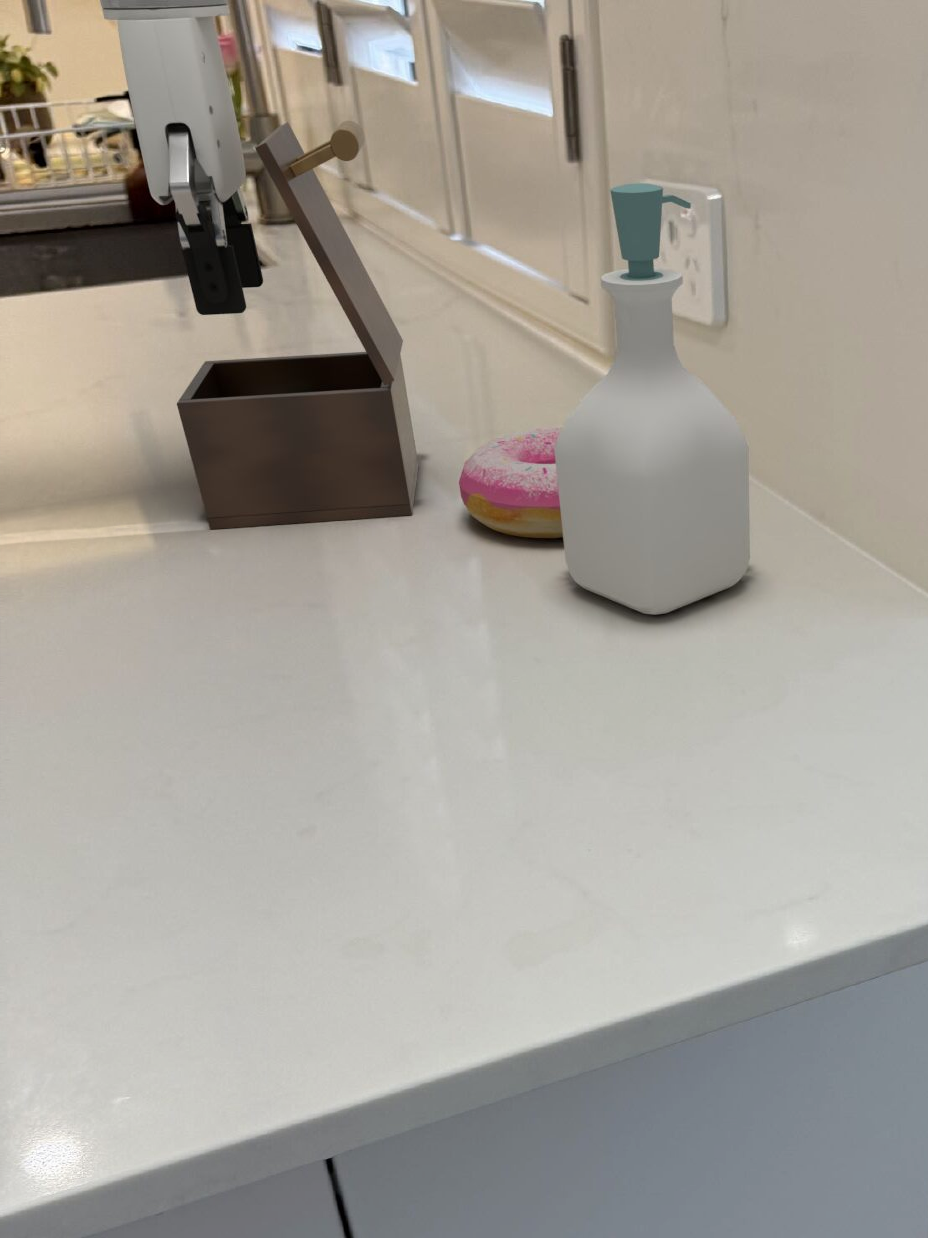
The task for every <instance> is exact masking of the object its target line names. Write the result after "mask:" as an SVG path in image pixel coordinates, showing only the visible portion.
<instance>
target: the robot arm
mask: <svg viewBox="0 0 928 1238" xmlns="http://www.w3.org/2000/svg"><path fill="white" fill-rule="evenodd" d="M99 2H100V6H101V11H102V13H103V18H104V20H109V21H117V31H118V38H119V44H120V52H121V58H122V63H123V70H124V74H125V80H126V86H127V91H128V95H129V99H130V105H131V111H132V115H133V121H134V124H135V128H136V134H137V139H138V142H139V143H138V144H139V148H140V152H141V157H142V161H143V166H144V171H145V176H146V180H147V185H148V189H149V194H150V196H151V197H152V199H153V200H154V201H155V202H156V203H158V204H159V205H160V206H166V205H169V204H170V203H171V202H172V201H174V206H175V207H174V208H175V212H174V214H175V215H174V216H175V220H176V222H177V229H178V230H177V231H178V236H179V242H180V245H181V252H182V257H183V261H184V264H185V268H186V269H185V270H186V272H187V276H188V281H189V284H190V289H191V292H192V297H193V302H194V304H195V310H196V311H197V313H198V314H199V315H201V316H210V315H211V316H213V315H233V314H235V315H236V314H243V313H244V312H245V311H246V310H247V301H246V298H245V293H244V289H249V288H260V287H261V286H262V285H263V283H264V276H263V271H262V268H261V263H260V258H259V253H258V248H257V243H256V239H255V235H254V230H253V225H252V223H251V222H249V221H250V220H249V219H250V217H249V212H248V211H249V210H248V208H247V204H246V201H245V198H244V195H243V192H242V189H241V187H242V186H243V185H244V183H245V182H246V175H247V172H246V164H245V159H244V158H245V157H244V151H243V146H242V141H241V136H240V130H239V125H238V120H237V116H236V110H235V107H234V101H233V98H232V92H231V88H230V84H229V79H228V74H227V71H226V67H225V62H224V58H223V50H222V47H221V45H220V40H219V36H218V33H217V28H216V24H215V20H214V18H215V17H220V16H223V17H225V16H230V15H231V13H230V8H229V4H228V0H99Z"/></svg>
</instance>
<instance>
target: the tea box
mask: <svg viewBox="0 0 928 1238" xmlns="http://www.w3.org/2000/svg"><path fill="white" fill-rule="evenodd" d="M405 380H406V379H405V374H404V367H403V360H402V356H401V354H400V357H399V362H398V367H397V371H396V376H395V380H394V381H393V382H391V383H389V384H387V385H384V383H383V382H382V380H381V378H380V376H379V374H378V372H377V371H376V369H375V367H374V365H373V363H372V361H371V360H370V358H369V356H368V354H367V352H366V351H356V352H354V351H353V352H340V353H339V352H337V353H321V354H305V355H287V356H286V355H285V356H274V357H273V356H272V357H271V356H270V357H254V358H253V357H252V358H237V359H235V358H234V359H222V360H221V359H220V360H219V359H218V360H205V361H204V362H203V363H202V365H201V366H200V368H199V369H198V371H197V372H196V374H195V376H194V377H193V378H192V380H191V381H190V383H189V384H188V385H187V387H186V389H185V390H184V392H183V393H182V395H181V396H180V398H179V399H178V401H177V402H176V406H177V411H178V415H179V418H180V421H181V425H182V429H183V433H184V436H185V440H186V444H187V449H188V452H189V455H190V459H191V463H192V467H193V471H194V474H195V478H196V482H197V485H198V489H199V492H200V496H201V501H202V504H203V508H204V511H205V516H206V518H207V523H208V527H209V529H210V530H219V529H235V528H247V527H249V528H251V527H261V526H263V527H264V526H276V525H277V526H278V525H290V524H304V523H318V522H319V523H320V522H334V521H335V522H336V521H347V520H362V519H363V520H364V519H374V518H375V519H376V518H388V517H389V518H390V517H392V518H393V517H402V516H406V517H407V516H412V515H413V511H414V502H415V496H416V489H417V482H418V474H419V466H420V465H419V459H418V458H419V457H418V454H417V447H416V441H415V435H414V428H413V423H412V415H411V411H410V405H409V399H408V398H409V397H408V391H407V386H406V381H405Z"/></svg>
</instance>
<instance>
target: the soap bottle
mask: <svg viewBox="0 0 928 1238" xmlns="http://www.w3.org/2000/svg"><path fill="white" fill-rule="evenodd" d="M609 191H610V197H611V202H612V208H613V215H614V220H615V226H616V231H617V239H618V244H619V249H620V255H621V259H622V260H624V261H627V268H625V269H618V270H613V271H610V272H607V273H604V274H602V275H601V276H600V285H601V288H602V289H603V291H605V292H607V293H608V294H609V295H610V296H611V298H612V299H613V304H614V319H615V333H616V345H617V346H616V350H615V354H614V358H613V361H612V363H611V365H610V368H609V369H608V372H607V374H605V375H604V376H603V377H602V378H601V379H600V380H599V381H598V382H597V383H596V384H595V385H594V386H592V387H591V389H590V390H589V391H588V392H587V394H585V396H584V397H583V398H582V400H581V401H580V402H579V403H578V405H577V406H576V407H575V408H574V410H573V411H572V413H571V414H570V415H569V416H568V417H567V419H566V420H565V421H564V423H563V425H562V426H561V427H562V429H561V431H560V434H559V436H558V438H557V442H556V448H555V461H556V471H557V480H558V490H559V500H560V510H561V520H562V530H563V537H562V540H563V549H564V558H565V563H566V566H567V570H568V572H569V574H570V576H571V577H572V579H573V580H574V582H575V583H576V584H577V585H578V586H580V587H581V588H583V589H585V590H586V591H588V592H591V593H593V594H596V595H598V596H601V597H603V598H605V599H607V600H611V601H613V602H615V603H618V604H620V605H622V606H625V607H627V608H629V609H631V610H634V611H637V612H639V613H642V614H645V615H654V616H655V615H663V614H668V613H670V612H673V611H676V610H678V609H680V608H682V607H686V606H688V605H690V604H692V603H695V602H698V601H700V600H702V599H704V598H707V597H711V596H712V595H715V594H717V593H719V592H722V591H724V590H727V589H729V588H732V587H734V586H735V585H736V584H737V583H738V582H739V581H741V579H742V578H743V577H744V575H745V573H746V572H747V571H748V569H749V568H748V567H749V562H750V559H751V533H750V531H751V529H750V526H751V524H750V523H751V521H750V455H749V454H750V453H749V452H750V451H749V450H750V449H749V445H748V441H747V437H746V435H745V433H744V432H743V430H742V428H741V426H740V423H738V421H737V419H736V418H735V416H733V414H732V413H731V412H730V411H729V409H728V408H727V407H726V406H725V405H724V404H723V402H722V401H721V400H720V398H718V396H716V395H715V393H714V392H713V391H712V390H711V389H710V388H709V387H708V386H707V385H706V384H705V383H704V382H703V381H702V380H701V379H699V378H698V377H697V376H696V375H694V374H693V373H692V372H690V371H689V370H688V369H686V368H685V367H684V365H683V363H682V362H681V360H680V358H679V355H678V353H677V350H676V348H675V343H674V320H673V319H674V317H673V297H674V294H675V293H676V292H677V291H678V290H679V288H680V287H681V286H683V283H684V279H683V274H682V273H681V272H680V271H679V270H678V271H677V270H674V269H671V268H670V269H669V268H661V267H660V268H659V267H655V265H654V260H656V259H658V258H660V250H661V249H660V247H661V230H662V229H661V228H662V215H663V214H662V213H663V204H666V203H673V204H676V205H678V206H680V207H683V208H685V209H689V210H690V209H691V206H692V205H691V204H692V203H691V202H689V201H686V200H684V199H683V198H680V197H678V196H676V195H674V194H664V187H663V186H661V185H657V184H652V183H644V182H642V183H641V182H636V183H635V182H634V183H625V184H622V185H621V184H620V185H617V186H613V187H611V188H610V189H609Z"/></svg>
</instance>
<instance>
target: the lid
mask: <svg viewBox="0 0 928 1238" xmlns="http://www.w3.org/2000/svg"><path fill="white" fill-rule="evenodd" d="M364 144H365V134H364V130H363V129H362V127H361V125H359V124H358V123H357V122H355V121H353V120H345V121H342V122H341V123H340V124H339V126H338V127H336V129H335V130H334V132H333V133H332V134H331V137H330V140H327V141H325V142H323V143H322V144H320V145H318V146H316V147H314V148H312V149H310V150H308V151H306V152H305V151H304V149H303V148H302V146H301V144H300V142H299V140H298V138H297V136H296V134H295V132H294V130H293V129H292V127H291V124H290V123H289V122H288V121H287V122H284V123H282V124H281V125H279V126H278V127H276V129H274V130H273V131H271V133H270V134H268V136H267V137H265V138H264V139H263V140H262V141H261V142H260V143H259V144H257V145H256V146H255V148H254V149H255V151H256V153H257V155H258V156H259V159H260V161H261V162H262V164H263V165H264V168H265V170H266V172H267V173H268V175H269V176H270V178H271V180H272V182H273V184H274V185H275V188H276V189H277V191H278V193H279V196H280V197H281V198H282V200H283V202H284V204H285V206H286V208H287V210H288V211H289V213H290V214H291V217H292V219H293V220H294V222H295V224H296V226H297V228H298V230H299V231H300V233H301V235H302V237H303V239H304V241H305V242H306V244H307V246H308V248H309V250H310V252H311V254H312V255H313V257H314V259H315V261H316V263H317V265H318V266H319V268H320V270H321V272H322V274H323V276H324V278H325V279H326V282H327V283H328V284H329V287H330V289H331V290H332V293H333V294H334V296H335V297H336V299H337V301H338V303H339V305H340V307H341V308H342V311H343V312H344V313H345V316H346V317H347V320H348V321H349V323H350V325H351V326H352V329H353V330H354V332H355V334H356V336H357V338H358V340H359V341H360V343H361V345H362V347H363V349H364V351H365V352H367V354H368V356H369V358H370V360H371V361H372V363H373V365H374V367H375V369H376V371H377V372H378V374H379V376H380V378H381V380H382V382H383V383H384V385H387V384H389V383H391V382H393V381H394V380H395V376H396V371H397V367H398V362H399V357H400V355H401V352H402V347H403V343H404V339H403V338H402V336H401V334H400V332H399V329H398V328H397V326H396V324H395V322H394V321H393V318H392V317H391V315H390V312H389V311H388V309H387V307H386V305H385V304H384V301H383V299H382V298H381V296H380V294H379V292H378V290H377V288H376V287H375V284H374V283H373V281H372V278H371V277H370V275H369V273H368V271H367V269H366V268H365V267H366V266H365V265H364V264H363V261H362V260H361V258H360V256H359V254H358V252H357V250H356V248H355V245H354V244H353V243H352V240H351V238H350V237H349V235H348V233H347V231H346V230H345V227H344V226H343V223H342V222H341V220H340V218H339V216H338V214H337V212H336V210H335V209H334V207H333V205H332V203H331V200H330V199H329V197H328V195H327V193H326V192H325V190H324V187H323V186H322V184H321V181H320V180H319V177H318V176H317V174H316V172H315V171H314V169H315V168H317V167H319V166H321V165H323V164H324V163H327V162H329V161H331V160H332V159H334V158H337V159H339V160H340V161H343V162H351V161H353V160H354V159H355V158H357V156H358V155H359V153H360V151H361V149H362V148H363V147H364Z"/></svg>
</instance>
